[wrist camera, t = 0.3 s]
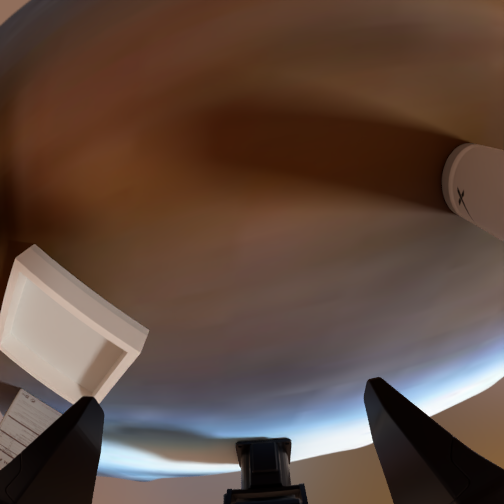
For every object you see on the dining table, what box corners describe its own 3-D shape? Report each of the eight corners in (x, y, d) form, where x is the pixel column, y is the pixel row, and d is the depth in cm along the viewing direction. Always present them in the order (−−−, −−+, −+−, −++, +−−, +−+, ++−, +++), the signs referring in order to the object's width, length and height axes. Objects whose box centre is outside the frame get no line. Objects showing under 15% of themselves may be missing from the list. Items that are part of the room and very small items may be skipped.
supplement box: (61, 435, 33) (35, 502, 22) (19, 409, 32) (-14, 472, 20) (67, 415, 31) (36, 492, 19) (20, 386, 29) (-20, 456, 18)
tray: (149, 330, 25) (140, 352, 23) (98, 395, 29) (90, 414, 26) (34, 243, 22) (15, 258, 19) (7, 328, 25) (-6, 344, 23)
